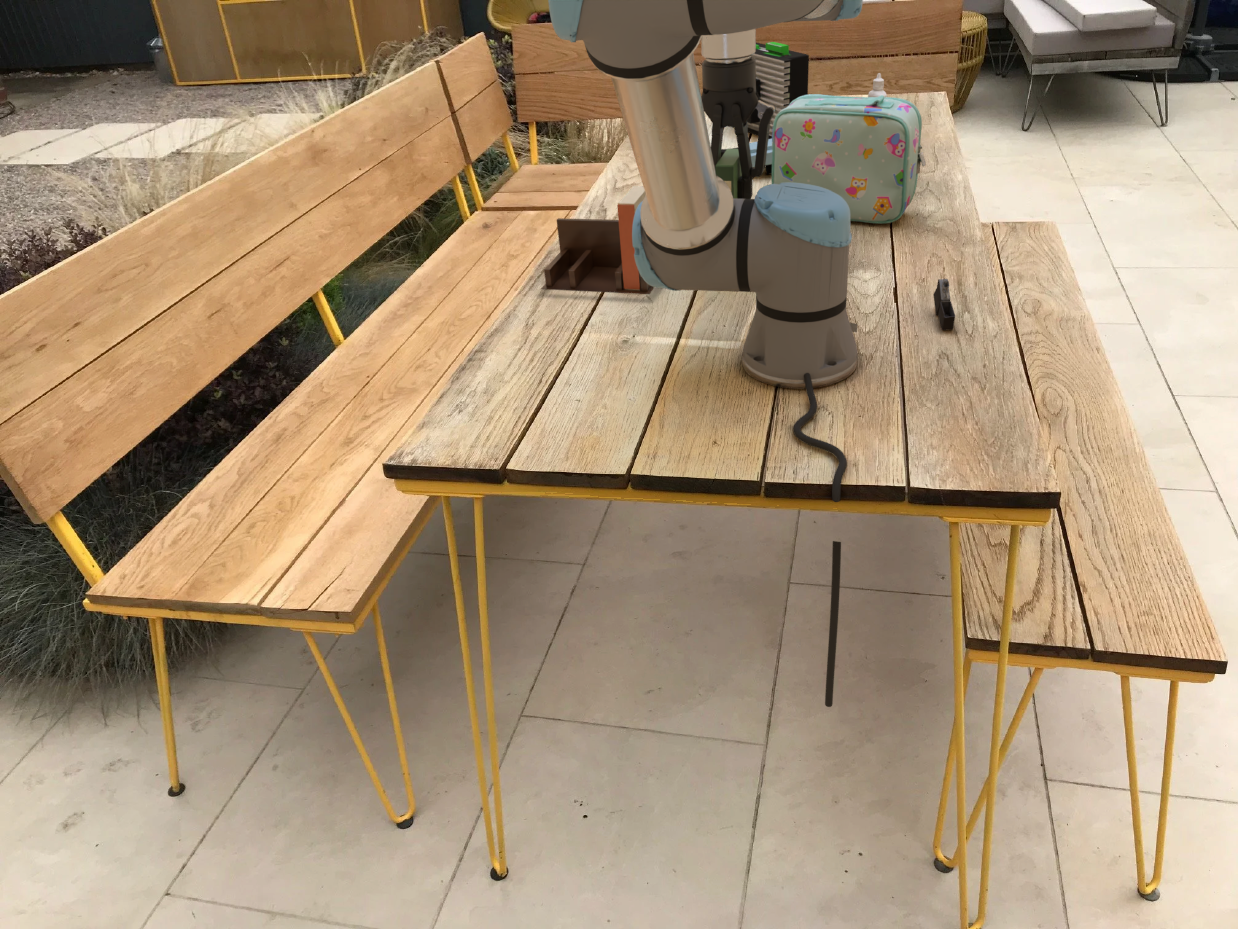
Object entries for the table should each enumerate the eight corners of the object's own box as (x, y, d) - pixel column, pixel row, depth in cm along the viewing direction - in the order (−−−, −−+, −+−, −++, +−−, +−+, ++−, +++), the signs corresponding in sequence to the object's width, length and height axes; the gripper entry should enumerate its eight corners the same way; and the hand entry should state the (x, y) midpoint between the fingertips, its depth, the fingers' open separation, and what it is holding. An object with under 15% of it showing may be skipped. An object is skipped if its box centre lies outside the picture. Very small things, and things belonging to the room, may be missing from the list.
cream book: (639, 290, 151) (633, 203, 143) (624, 289, 151) (617, 203, 144) (654, 269, 157) (649, 185, 150) (638, 269, 158) (633, 185, 151)
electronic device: (710, 123, 238) (708, 37, 227) (747, 116, 242) (747, 31, 231) (771, 147, 216) (772, 53, 205) (811, 138, 220) (814, 45, 209)
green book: (734, 258, 144) (733, 165, 137) (717, 257, 145) (715, 165, 137) (744, 237, 151) (744, 148, 143) (728, 237, 152) (727, 148, 144)
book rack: (650, 301, 150) (646, 245, 145) (541, 295, 155) (534, 241, 150) (667, 274, 159) (664, 220, 153) (564, 269, 164) (558, 217, 159)
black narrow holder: (953, 340, 136) (960, 321, 131) (938, 341, 136) (945, 321, 131) (947, 293, 139) (954, 272, 134) (932, 293, 139) (939, 273, 134)
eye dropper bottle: (865, 130, 222) (869, 76, 215) (866, 124, 226) (869, 71, 220) (885, 130, 221) (889, 75, 214) (884, 123, 226) (888, 70, 219)
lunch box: (924, 212, 173) (937, 89, 162) (908, 231, 166) (919, 103, 155) (787, 198, 186) (789, 83, 174) (766, 215, 179) (767, 96, 167)
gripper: (789, 50, 133) (786, 213, 146) (680, 53, 138) (686, 211, 151) (780, 61, 128) (778, 231, 140) (667, 64, 132) (675, 228, 145)
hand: (731, 220), depth 146 cm, fingers closed on green book, 3 cm apart
